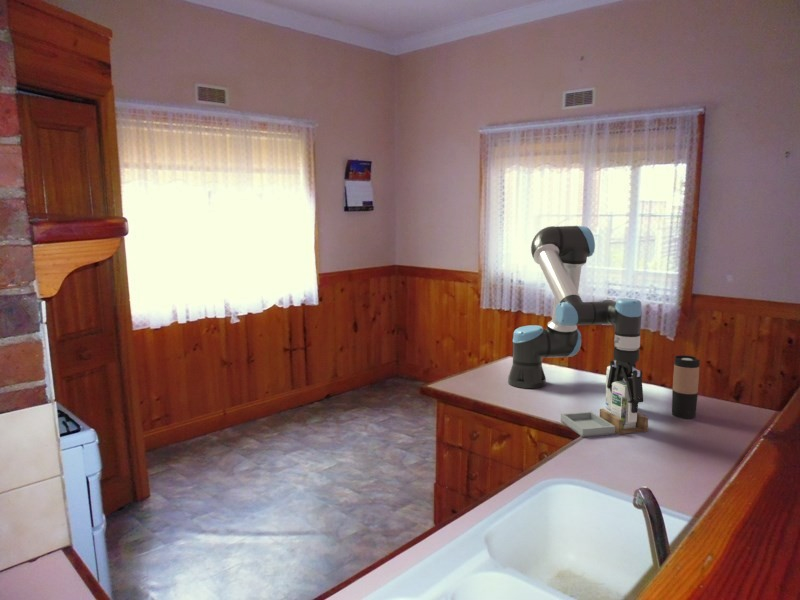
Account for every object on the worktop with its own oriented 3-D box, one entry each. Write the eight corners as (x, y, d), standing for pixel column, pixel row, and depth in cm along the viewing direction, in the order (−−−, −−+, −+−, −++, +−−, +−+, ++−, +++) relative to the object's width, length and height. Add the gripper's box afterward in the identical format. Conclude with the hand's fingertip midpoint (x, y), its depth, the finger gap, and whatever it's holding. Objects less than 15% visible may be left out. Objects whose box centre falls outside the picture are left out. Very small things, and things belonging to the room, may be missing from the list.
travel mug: (667, 415, 188) (671, 358, 185) (675, 410, 194) (678, 354, 191) (692, 421, 183) (696, 362, 180) (699, 415, 188) (703, 357, 186)
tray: (560, 421, 184) (560, 414, 184) (591, 418, 186) (591, 411, 186) (582, 437, 170) (582, 429, 170) (614, 434, 172) (615, 426, 172)
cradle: (599, 422, 183) (599, 408, 182) (626, 419, 185) (627, 406, 184) (618, 434, 172) (619, 420, 172) (647, 431, 174) (648, 418, 173)
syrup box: (609, 425, 180) (611, 382, 178) (623, 422, 182) (625, 379, 180) (622, 431, 175) (624, 386, 173) (636, 428, 177) (638, 384, 175)
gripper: (597, 341, 184) (594, 406, 188) (636, 356, 164) (632, 429, 167) (617, 340, 186) (614, 405, 189) (659, 355, 165) (655, 427, 168)
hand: (623, 416), depth 178 cm, fingers open, 9 cm apart
